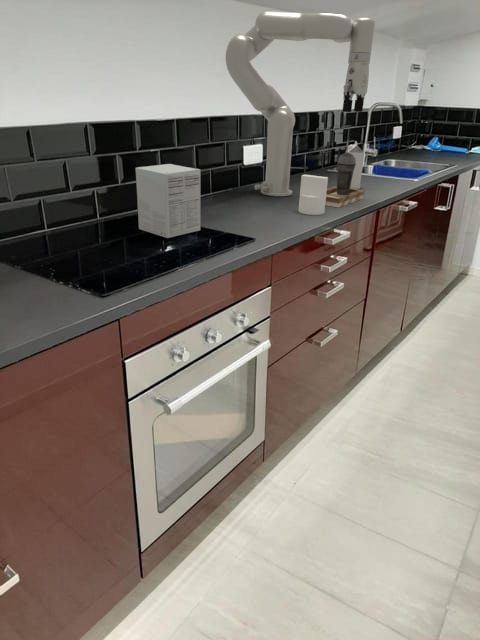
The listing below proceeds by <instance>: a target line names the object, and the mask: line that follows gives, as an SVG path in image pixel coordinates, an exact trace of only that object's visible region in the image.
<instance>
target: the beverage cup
mask: <svg viewBox="0 0 480 640" xmlns="http://www.w3.org/2000/svg"><path fill="white" fill-rule="evenodd" d="M348 146H349V139H348V140H346V150H345V152H344V153H342V154H340V155H339V157H338V159H337V161H336V162H337V163H336V167H337V168H336V169H337V176H336V177H337V178H336V187H337V194H338V195H348V194H349V190H350V186H351V181H352V176H353V172H354V169H355V165H356V160H355V157H354V156H353V155H352V154H351V153H348Z"/></svg>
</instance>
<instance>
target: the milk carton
mask: <svg viewBox="0 0 480 640" xmlns="http://www.w3.org/2000/svg"><path fill="white" fill-rule="evenodd" d="M348 153H351V154H352V155H353V156H354V157H355V160H356V165H355V169H354V172H353V176H352V181H351V186H350V188H351V189H358V190H360V188H361V180H362V174H363V166H364V161H365V160H364V159H365V152H364V151H363V150H362V149H361V148H360V147H359V146H358V142H357V141H354V144H350V145H349V144H348Z"/></svg>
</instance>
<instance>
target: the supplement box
mask: <svg viewBox="0 0 480 640" xmlns="http://www.w3.org/2000/svg"><path fill="white" fill-rule="evenodd" d="M135 179H136V180H135V183H136V196H137V197H136V198H137V214H138V216H137V217H138V230H141V231H144V232H147V233H151V234H154V235H156V236H160V237H164V238H165V239H169V238H174V237H177V236H181V235H186V234H190V233H194V232H199V231H201V169H199V168H193V167H189V166H188V167H187V166H183V165H177V164H173V163H165V164H157V165H149V166H138V167H135Z"/></svg>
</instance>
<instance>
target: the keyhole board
mask: <svg viewBox="0 0 480 640" xmlns="http://www.w3.org/2000/svg"><path fill="white" fill-rule="evenodd" d="M364 195H365V190H362V189H361V190H360V189H351V188H350V190H349V194H348V195H338V194H337V186H336V185H335V186H331V187H327V192H326V202H325V206H328V207H334V208H342V207H344V206H347V205H350V204H352V203H355V202H359V201H361V200H363V199H364Z"/></svg>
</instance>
